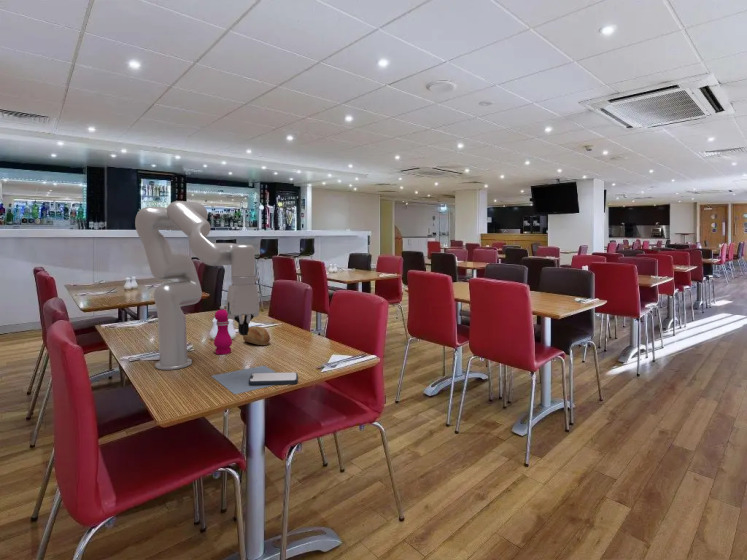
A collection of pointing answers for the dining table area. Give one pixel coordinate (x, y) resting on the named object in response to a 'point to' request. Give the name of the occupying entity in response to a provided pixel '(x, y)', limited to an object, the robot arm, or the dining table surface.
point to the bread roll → (257, 336)
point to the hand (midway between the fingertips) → (243, 334)
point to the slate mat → (241, 379)
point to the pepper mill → (222, 333)
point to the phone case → (273, 378)
